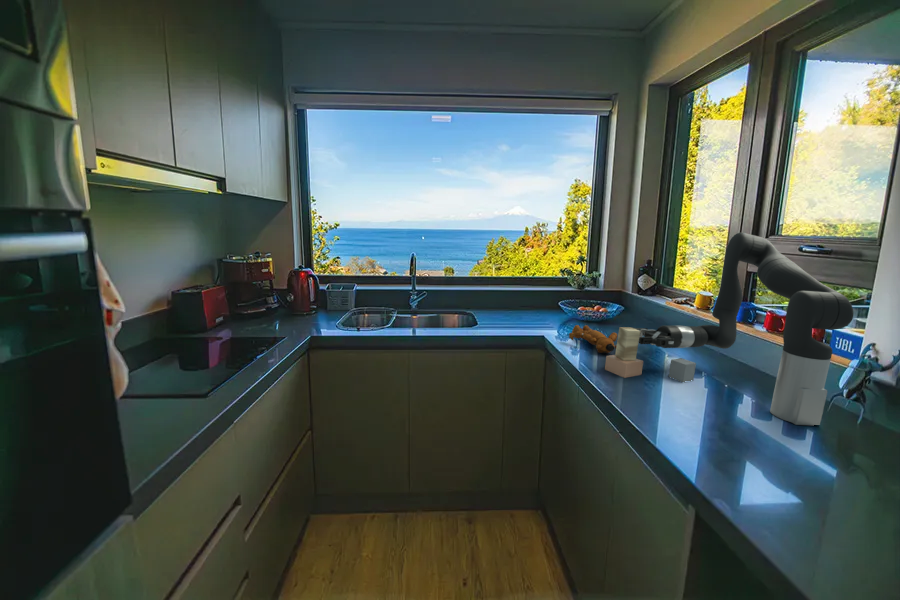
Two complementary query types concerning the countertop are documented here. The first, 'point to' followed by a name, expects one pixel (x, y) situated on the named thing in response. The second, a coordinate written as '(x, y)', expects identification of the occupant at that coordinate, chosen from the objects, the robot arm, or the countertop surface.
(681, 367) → the grey block
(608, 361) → the terracotta block
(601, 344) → the toy
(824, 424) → the countertop surface
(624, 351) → the beech pillar
